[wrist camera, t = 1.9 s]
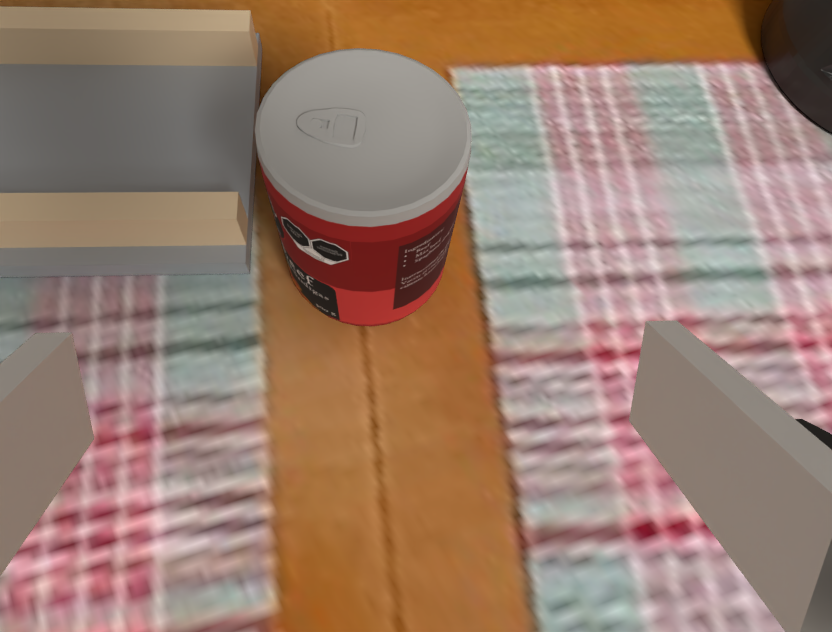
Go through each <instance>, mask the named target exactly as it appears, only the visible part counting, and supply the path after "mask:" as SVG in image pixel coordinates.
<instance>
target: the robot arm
mask: <svg viewBox="0 0 832 632" xmlns="http://www.w3.org/2000/svg"><path fill="white" fill-rule="evenodd" d="M761 40H762V48H763V53H764V56H765V59H766V62H767V65H768V67H769V69H770V71H771V73H772V75H773V77H774V79H775V80H776V82H777V83H778V85H779V86H780V88H781V89H782V90H783V92H784V93H785V94H786V95H787V96H788V98H789V99H790V100H791V101H792V102H793V103H794V104H795V105H796V106H797V107H798V108H799V109H800V110H801V111H802V112H803V113H805V114H806V115H807V116H808V117H809V118H811V119H812V120H813V121H815V122H816V123H817V124H819V125H820V126H822V127H823V128H825V129H826V130H828V131H830V132H831V133H832V0H773V1H772V3H771V4H770V6H769V7H768V9H767V11H766V13H765V16H764V19H763V23H762V30H761ZM629 421H630V423H631V424H632V425H633V427H634V428H635V429H636V431H637V432H638V433H639V435H640V436H641V437H642V439H643V440H644V441H645V443H646V444H647V446H648V447H649V448H650V450H651V451H652V452H653V454H654V455H655V456H656V458H657V459H658V460H659V462H660V463H661V464H662V466H663V467H664V468H665V470H666V471H667V473H668V474H669V475H670V477H671V478H672V479H673V481H674V482H675V483H676V485H677V486H678V487H679V489H680V490H681V491H682V493H683V494H684V495H685V497H686V498H687V499H688V501H689V502H690V504H691V505H692V506H693V508H694V509H695V510H696V512H697V513H698V514H699V516H700V517H701V518H702V520H703V521H704V522H705V524H706V525H707V526H708V528H709V529H710V530H711V532H712V533H713V535H714V536H715V537H716V539H717V540H718V541H719V543H720V544H721V545H722V547H723V548H724V549H725V551H726V552H727V553H728V555H729V556H730V557H731V559H732V560H733V561H734V563H735V564H736V566H737V567H738V568H739V570H740V571H741V572H742V574H743V575H744V576H745V578H746V579H747V580H748V582H749V583H750V584H751V586H752V587H753V588H754V590H755V591H756V592H757V594H758V595H759V597H760V598H761V599H762V601H763V602H764V603H765V605H766V606H767V607H768V609H769V610H770V611H771V613H772V614H773V615H774V617H775V618H776V619H777V621H778V622H779V623H780V625H781V626H782V628H783V629H784V630H785V632H832V435H831V434H830V433H828V432H826V431H824V430H822V429H820V428H819V427H817V426H815V425H813V424H811V423H809V422H807V421H805V420H803V419H794V418H793V417H792V416H790V415H789V414H788V413H787V412H786V411H784V410H783V409H782V408H781V407H780V406H778V405H777V404H776V403H775V402H774V401H772V400H771V399H770V398H769V397H768V396H766V395H765V394H764V393H763V392H762V391H760V390H759V389H758V388H757V387H756V386H755V385H753V384H752V383H751V382H750V381H749V380H747V379H746V378H745V377H744V376H743V375H741V374H740V373H739V372H738V371H737V370H735V369H734V368H733V367H732V366H731V365H729V364H728V363H727V362H726V361H725V360H723V359H722V358H721V357H720V356H719V355H717V354H716V353H715V352H714V351H713V350H711V349H710V348H709V347H708V346H707V345H705V344H704V343H703V342H702V341H701V340H699V339H698V338H697V337H696V336H695V335H693V334H692V333H691V332H690V331H689V330H687V329H686V328H685V327H684V326H683V325H681V324H680V323H679V322H678V321H646V323H645V329H644V335H643V341H642V347H641V353H640V359H639V365H638V371H637V377H636V383H635V389H634V395H633V401H632V407H631V412H630V418H629ZM93 440H94V435H93V431H92V426H91V421H90V416H89V412H88V407H87V402H86V397H85V393H84V388H83V383H82V378H81V374H80V369H79V364H78V359H77V355H76V350H75V345H74V340H73V336H72V333H35V334H34V335H33V336H32V337H31V338H29V339H28V340H27V341H26V342H25V343H24V344H22V345H21V346H20V347H19V348H18V349H17V350H16V351H14V352H13V353H12V354H11V355H10V356H9V357H8V358H6V359H5V360H4V361H3V362H2V363H1V364H0V576H1V574H2V573H3V572H4V570H5V569H6V567H7V566H8V564H9V563H10V561H11V560H12V558H13V557H14V555H15V554H16V552H17V551H18V550H19V548H20V547H21V545H22V544H23V542H24V541H25V539H26V538H27V536H28V535H29V533H30V532H31V531H32V529H33V528H34V526H35V525H36V523H37V522H38V520H39V519H40V517H41V516H42V514H43V513H44V511H45V510H46V509H47V507H48V506H49V504H50V503H51V501H52V500H53V498H54V497H55V495H56V494H57V492H58V491H59V490H60V488H61V487H62V485H63V484H64V482H65V481H66V479H67V478H68V476H69V475H70V473H71V472H72V470H73V469H74V468H75V466H76V465H77V463H78V462H79V460H80V459H81V457H82V456H83V454H84V453H85V451H86V450H87V448H88V447H89V446H90V444H91V443H92V441H93Z"/></svg>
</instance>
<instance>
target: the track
mask: <svg viewBox="0 0 832 632" xmlns="http://www.w3.org/2000/svg"><path fill="white" fill-rule="evenodd" d="M261 62H262V45H261V40H260V36H259V33H255V29H254V25H253V20H252V15H251V11H249V10H188V9H127V8H66V7H5V6H0V277H58V276H124V275H189V274H250V260H251V242H252V224H253V206H254V188H255V170H256V152H257V146H256V134H255V125H256V117H257V112H258V110H259V98H260V80H261Z"/></svg>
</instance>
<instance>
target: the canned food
mask: <svg viewBox="0 0 832 632" xmlns="http://www.w3.org/2000/svg"><path fill="white" fill-rule="evenodd" d="M255 134H256V146H257V154H258V159H259V163H260V166H261V170H262V176H263V179H264V183H265V186H266V190H267V193H268V197H269V200H270V204H271V207H272V211H273V214H274V218H275V221H276V225H277V228H278V232H279V236H280V239H281V243H282V246H283V250H284V253H285V257H286V260H287V264H288V267H289V271H290V274H291V276H292V279H293V281H294V284H295V286H296V287H297V289H298V290H299V292H300V293H301V295H302V296H303V297H304V298H305V299H306V300H307V301H308V302H309V303H310V304H311V305H312V306H313V307H315V308H316V309H318V310H319V311H321V312H322V313H324V314H325V315H327V316H328V317H330V318H333V319H335V320H338V321H340V322H342V323H347V324H352V325H356V326H377V325H384V324H388V323H391V322H394V321H398V320H400V319H402V318H404V317H406V316H408V315H409V314H411V313H413V312H414V311H416V310H417V309H418V308H419V307H420V306H422V305H423V304H424V303H425V302H426V301H427V300H428V299H429V298H430V296H431V295H432V294H433V293H434V291H435V290H436V288H437V286H438V284H439V282H440V280H441V277H442V273H443V269H444V265H445V261H446V257H447V252H448V248H449V244H450V240H451V236H452V232H453V228H454V224H455V220H456V216H457V212H458V208H459V204H460V200H461V196H462V192H463V187H464V183H465V179H466V174H467V170H468V164H469V159H470V154H471V142H472V138H471V123H470V120H469V116H468V113H467V109H466V107H465V106H464V104H463V102H462V100H461V98H460V97H459V95H458V93H457V92H456V91H455V90H454V89H453V88H452V86H451V85H450V84H449V83H448V82H447V81H446V80H445V79H444V78H442V77H441V76H440V75H439V74H437V73H436V72H435V71H434V70H432V69H431V68H429V67H427V66H425V65H423V64H422V63H420V62H418V61H416V60H414V59H411V58H408V57H405V56H403V55H400V54H397V53H392V52H387V51H383V50H377V49H360V48H357V49H345V50H336V51H332V52H328V53H324V54H319V55H317V56H315V57H312V58H310V59H307V60H305V61H302V62H300V63H299V64H297V65H296V66H294V67H293V68H291V69H289V70H288V71H286V72H285V73H284V74H283V75H282V76H281V77H280V78H279V79H278V80H276V81H275V82H274V83H273V84H272V86H271V87H270V89H269V90H268V92H267V93H266V95H265V96H264V97H263V100H262V102H261V105H260V107H259V110H258V112H257V117H256V125H255Z"/></svg>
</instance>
